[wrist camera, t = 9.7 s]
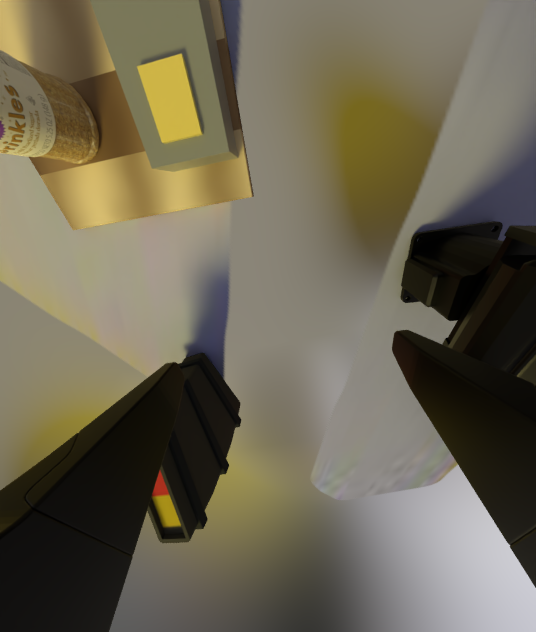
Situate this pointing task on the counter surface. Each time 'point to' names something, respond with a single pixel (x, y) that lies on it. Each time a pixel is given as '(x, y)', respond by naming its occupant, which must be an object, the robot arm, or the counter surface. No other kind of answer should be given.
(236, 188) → the plywood board
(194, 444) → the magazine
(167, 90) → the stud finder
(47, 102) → the sprinkles bottle
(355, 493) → the counter surface
